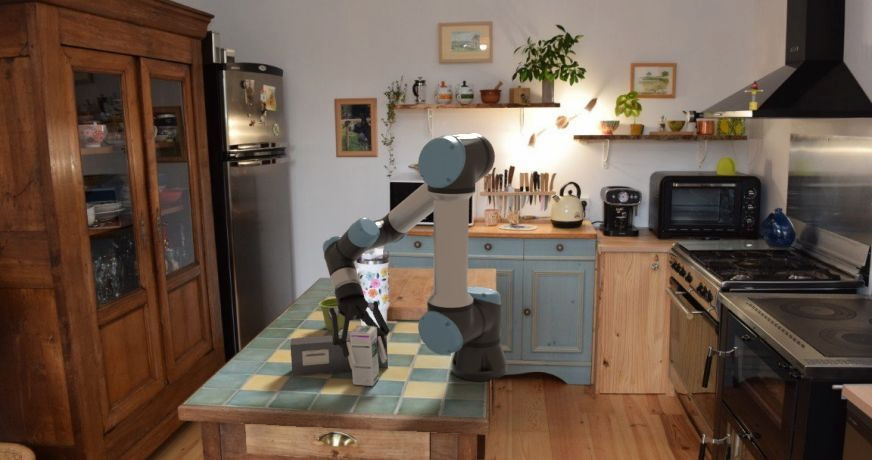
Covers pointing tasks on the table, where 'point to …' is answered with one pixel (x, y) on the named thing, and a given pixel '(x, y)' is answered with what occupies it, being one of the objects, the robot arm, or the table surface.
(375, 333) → the syrup box
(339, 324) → the plant pot
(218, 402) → the table surface
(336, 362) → the box
